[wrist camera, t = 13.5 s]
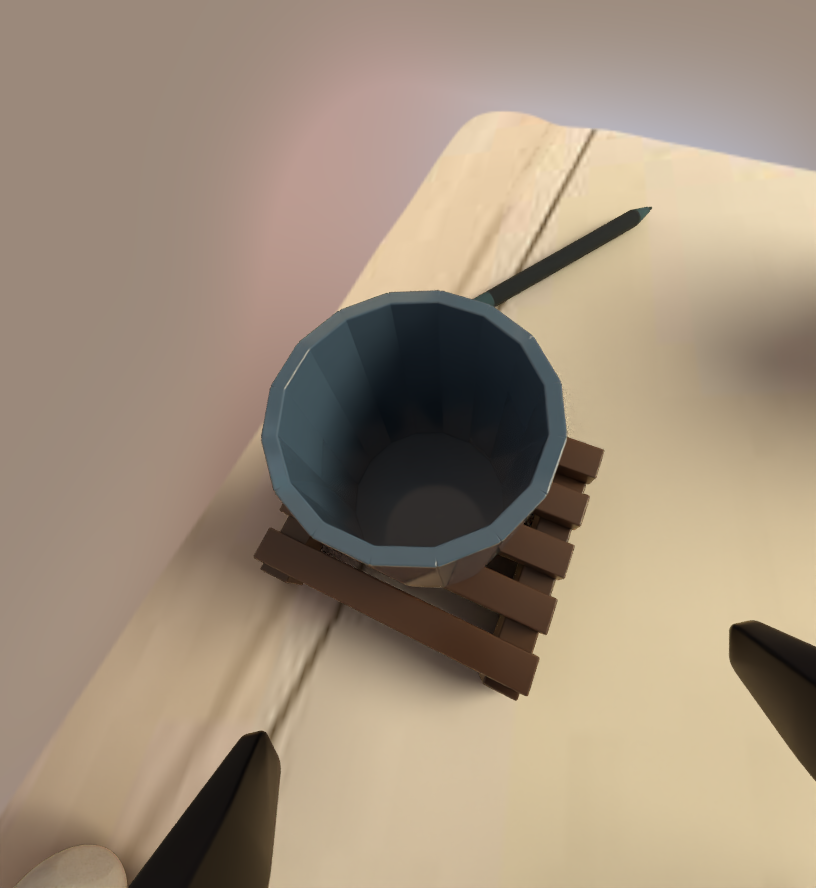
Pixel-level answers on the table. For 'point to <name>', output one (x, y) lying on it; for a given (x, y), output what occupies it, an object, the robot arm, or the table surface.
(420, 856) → the table surface
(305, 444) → the cup
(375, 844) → the table surface
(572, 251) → the pen
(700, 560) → the table surface
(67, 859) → the colorful feather toy
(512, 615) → the rack
